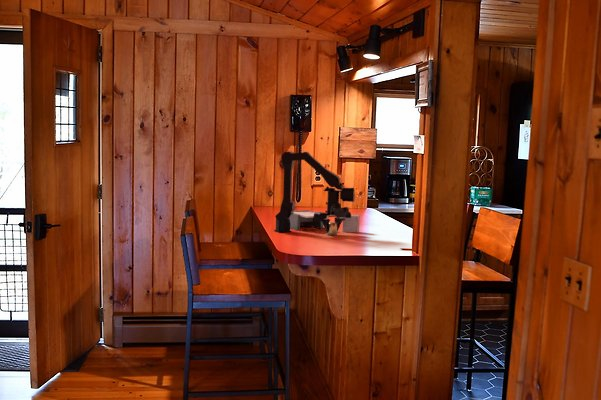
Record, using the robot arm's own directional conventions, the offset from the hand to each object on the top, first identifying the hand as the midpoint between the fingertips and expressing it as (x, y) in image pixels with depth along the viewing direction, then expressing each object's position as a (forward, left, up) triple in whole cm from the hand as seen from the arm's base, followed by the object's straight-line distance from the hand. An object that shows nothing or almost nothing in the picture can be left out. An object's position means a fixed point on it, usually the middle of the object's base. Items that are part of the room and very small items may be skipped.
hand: (331, 232), depth 324 cm
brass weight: (0, 0, -1) cm, 1 cm away
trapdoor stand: (-1, +25, -1) cm, 26 cm away
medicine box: (+15, +5, -2) cm, 16 cm away
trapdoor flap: (-1, +21, +2) cm, 21 cm away
